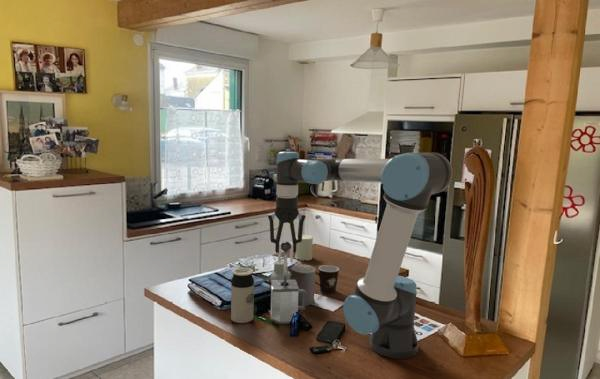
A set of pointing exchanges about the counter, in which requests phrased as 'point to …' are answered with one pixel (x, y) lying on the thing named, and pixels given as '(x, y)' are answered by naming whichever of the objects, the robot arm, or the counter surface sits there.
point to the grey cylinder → (304, 282)
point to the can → (304, 248)
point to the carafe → (285, 301)
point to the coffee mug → (328, 278)
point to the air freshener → (279, 271)
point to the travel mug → (242, 295)
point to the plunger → (285, 260)
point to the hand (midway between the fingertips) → (285, 261)
